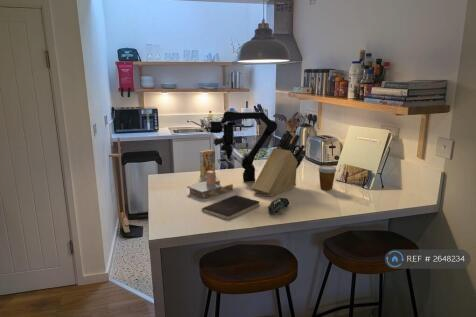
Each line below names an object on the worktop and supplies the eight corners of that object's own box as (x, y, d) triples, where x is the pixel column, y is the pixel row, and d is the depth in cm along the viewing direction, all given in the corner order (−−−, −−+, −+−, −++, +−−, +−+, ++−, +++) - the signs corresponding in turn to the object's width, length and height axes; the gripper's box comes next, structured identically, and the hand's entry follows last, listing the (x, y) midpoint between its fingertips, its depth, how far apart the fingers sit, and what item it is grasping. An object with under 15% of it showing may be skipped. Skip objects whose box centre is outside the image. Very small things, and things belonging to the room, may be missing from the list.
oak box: (218, 185, 197) (218, 180, 196) (232, 189, 189) (232, 184, 188) (189, 193, 184) (189, 187, 183) (203, 198, 175) (203, 192, 175)
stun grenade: (281, 206, 167) (266, 215, 156) (280, 193, 165) (265, 201, 155) (293, 208, 163) (278, 217, 152) (292, 195, 162) (277, 203, 151)
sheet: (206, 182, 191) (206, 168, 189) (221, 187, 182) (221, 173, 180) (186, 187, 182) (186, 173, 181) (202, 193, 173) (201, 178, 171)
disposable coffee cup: (336, 187, 193) (337, 166, 190) (333, 192, 184) (334, 170, 182) (319, 185, 197) (320, 164, 194) (315, 190, 188) (316, 168, 185)
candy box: (211, 172, 223) (211, 149, 219) (215, 174, 219) (215, 150, 216) (200, 175, 217) (199, 151, 214) (203, 176, 214) (203, 152, 210)
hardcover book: (259, 206, 166) (260, 201, 166) (228, 221, 149) (228, 216, 149) (234, 198, 176) (234, 194, 176) (202, 212, 159) (201, 207, 159)
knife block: (305, 183, 200) (307, 130, 193) (268, 198, 175) (269, 138, 168) (288, 179, 208) (290, 128, 201) (251, 193, 182) (251, 135, 175)
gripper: (217, 130, 208) (217, 155, 212) (211, 135, 190) (212, 162, 194) (235, 130, 207) (235, 156, 211) (231, 135, 189) (231, 163, 193)
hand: (228, 159), depth 202 cm, fingers closed
